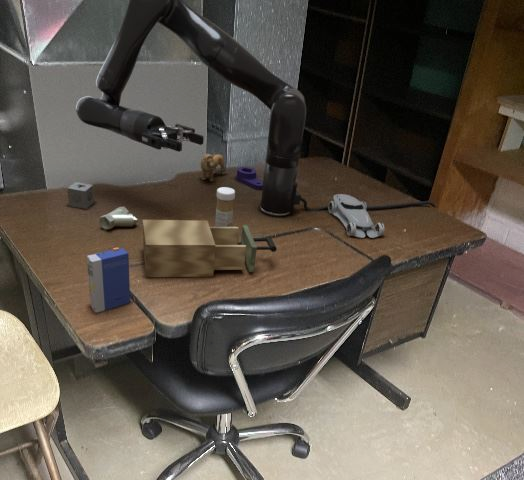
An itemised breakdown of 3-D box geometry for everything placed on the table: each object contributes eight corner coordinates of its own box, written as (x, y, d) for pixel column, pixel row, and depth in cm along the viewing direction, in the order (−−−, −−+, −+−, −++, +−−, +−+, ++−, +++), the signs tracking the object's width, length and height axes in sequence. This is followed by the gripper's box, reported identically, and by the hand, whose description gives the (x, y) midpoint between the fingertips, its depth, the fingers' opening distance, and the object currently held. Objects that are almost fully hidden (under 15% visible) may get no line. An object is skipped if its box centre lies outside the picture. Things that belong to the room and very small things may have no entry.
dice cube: (94, 202, 157) (92, 185, 154) (86, 209, 153) (85, 191, 150) (77, 199, 157) (75, 181, 154) (69, 205, 153) (67, 188, 150)
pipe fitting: (139, 226, 149) (118, 217, 150) (140, 212, 146) (118, 204, 148) (121, 236, 143) (99, 227, 144) (121, 222, 140) (99, 213, 142)
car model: (348, 238, 156) (352, 222, 153) (322, 203, 175) (324, 188, 172) (385, 238, 159) (389, 222, 156) (355, 204, 178) (358, 189, 175)
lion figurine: (211, 186, 176) (213, 157, 171) (196, 182, 177) (197, 154, 172) (228, 172, 188) (230, 145, 182) (213, 169, 189) (215, 142, 183)
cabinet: (205, 250, 141) (207, 220, 136) (213, 276, 131) (215, 244, 126) (143, 250, 137) (142, 219, 132) (146, 277, 127) (145, 244, 122)
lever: (232, 177, 185) (233, 167, 183) (248, 175, 188) (249, 165, 186) (253, 190, 177) (254, 180, 175) (269, 188, 180) (270, 178, 179)
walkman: (123, 296, 120) (121, 245, 113) (130, 302, 118) (128, 251, 111) (89, 306, 115) (84, 254, 108) (95, 313, 114) (91, 260, 107)
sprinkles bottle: (224, 234, 150) (228, 185, 142) (234, 241, 147) (239, 191, 139) (210, 237, 147) (213, 187, 139) (220, 244, 145) (224, 194, 137)
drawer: (266, 249, 144) (269, 225, 140) (277, 271, 135) (280, 247, 131) (187, 248, 139) (188, 224, 135) (193, 272, 130) (194, 247, 126)
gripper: (122, 116, 137) (173, 133, 131) (160, 108, 147) (210, 123, 141) (123, 147, 142) (173, 165, 136) (160, 137, 152) (208, 153, 146)
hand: (192, 143), depth 138 cm, fingers open, 8 cm apart
